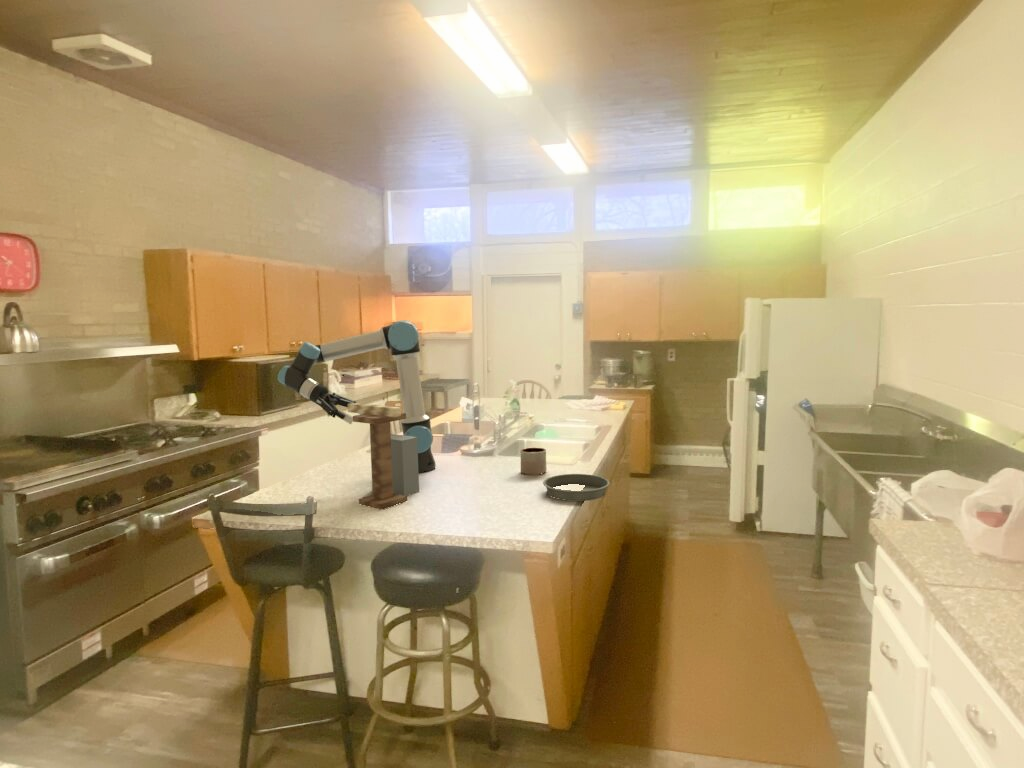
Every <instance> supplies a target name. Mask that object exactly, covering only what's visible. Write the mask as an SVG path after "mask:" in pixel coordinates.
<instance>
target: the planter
mask: <svg viewBox="0 0 1024 768" xmlns="http://www.w3.org/2000/svg"><path fill="white" fill-rule="evenodd" d="M520 472H521V473H522V474H524V473H525V474H524V475H527V474H539V475H542V474H541V473H543V474H545V473H546V472H547V450H546V448H543V447H535V446H534V447H533V446H532V447H531V446H530V447H524V448H521V449H520ZM544 472H545V473H544Z"/></svg>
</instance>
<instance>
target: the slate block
mask: <svg viewBox="0 0 1024 768" xmlns="http://www.w3.org/2000/svg"><path fill="white" fill-rule="evenodd" d="M369 443H370V446H371V441H370V442H369ZM391 458H392V483H393V493H395V494H400V495H404V496H406V495H407V496H410V495H413V494H412V493H414V494H416V492H417V493H419V492H420V481H419V480H420V479H419V478H420V476H419V473H420V472H418V444H417V437H412V436H404V435H403V434H395V433H391ZM371 470H372V465H371ZM371 488H372V487H371ZM371 491H373V488H372V489H371ZM409 494H410V495H409Z"/></svg>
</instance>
